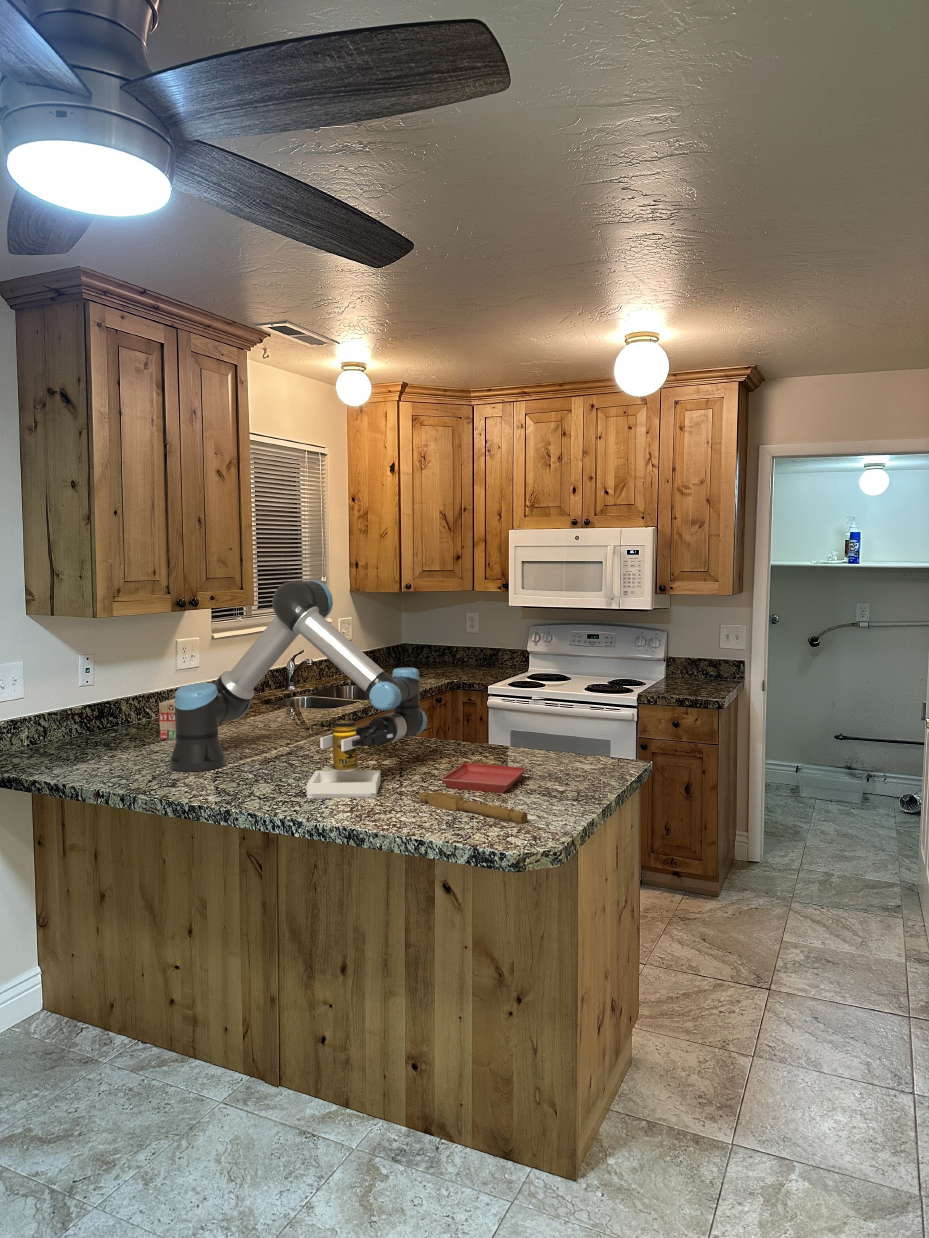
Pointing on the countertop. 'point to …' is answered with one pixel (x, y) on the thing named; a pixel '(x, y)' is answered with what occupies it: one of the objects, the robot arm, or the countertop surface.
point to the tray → (344, 784)
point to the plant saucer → (483, 777)
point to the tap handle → (471, 807)
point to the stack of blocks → (167, 720)
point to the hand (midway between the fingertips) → (331, 744)
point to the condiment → (340, 758)
